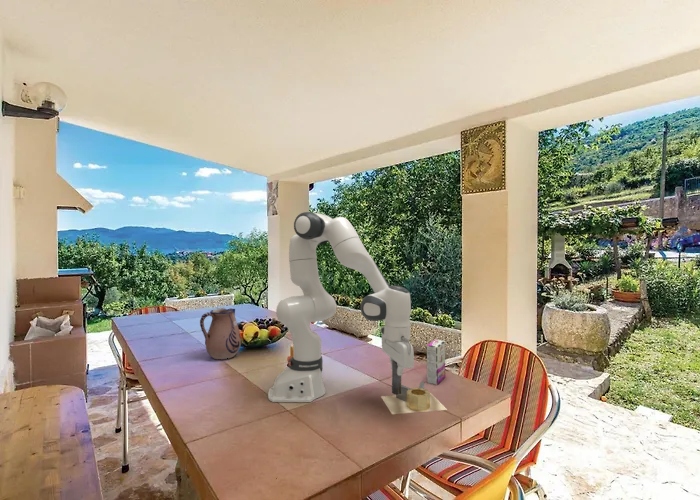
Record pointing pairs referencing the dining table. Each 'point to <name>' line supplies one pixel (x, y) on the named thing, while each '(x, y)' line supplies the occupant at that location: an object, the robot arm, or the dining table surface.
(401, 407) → the oak board
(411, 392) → the hinge leaves
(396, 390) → the hinge pin
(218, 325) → the ceramic pitcher
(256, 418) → the dining table surface
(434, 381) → the candy bar box
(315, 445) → the dining table surface
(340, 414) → the dining table surface
